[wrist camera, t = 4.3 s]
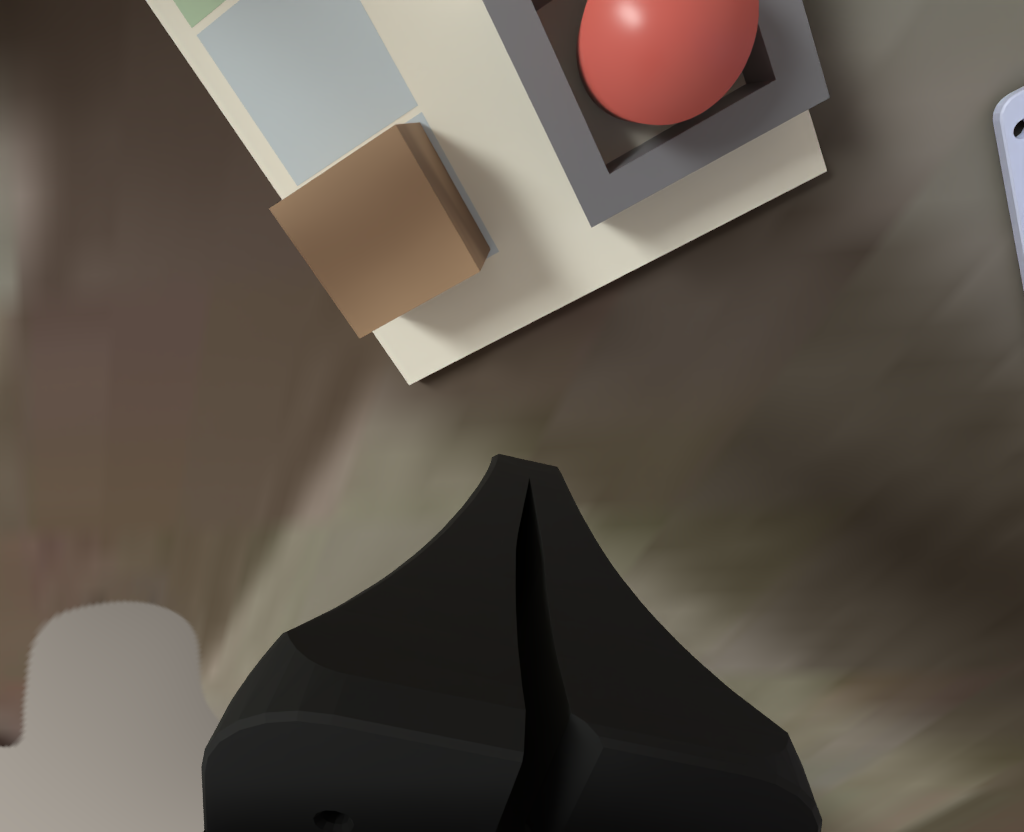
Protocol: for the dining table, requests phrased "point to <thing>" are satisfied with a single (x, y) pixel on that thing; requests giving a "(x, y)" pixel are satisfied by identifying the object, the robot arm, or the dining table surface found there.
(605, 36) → the dome button
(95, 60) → the dining table surface
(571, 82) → the board
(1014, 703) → the dining table surface
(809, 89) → the dome collar
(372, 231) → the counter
